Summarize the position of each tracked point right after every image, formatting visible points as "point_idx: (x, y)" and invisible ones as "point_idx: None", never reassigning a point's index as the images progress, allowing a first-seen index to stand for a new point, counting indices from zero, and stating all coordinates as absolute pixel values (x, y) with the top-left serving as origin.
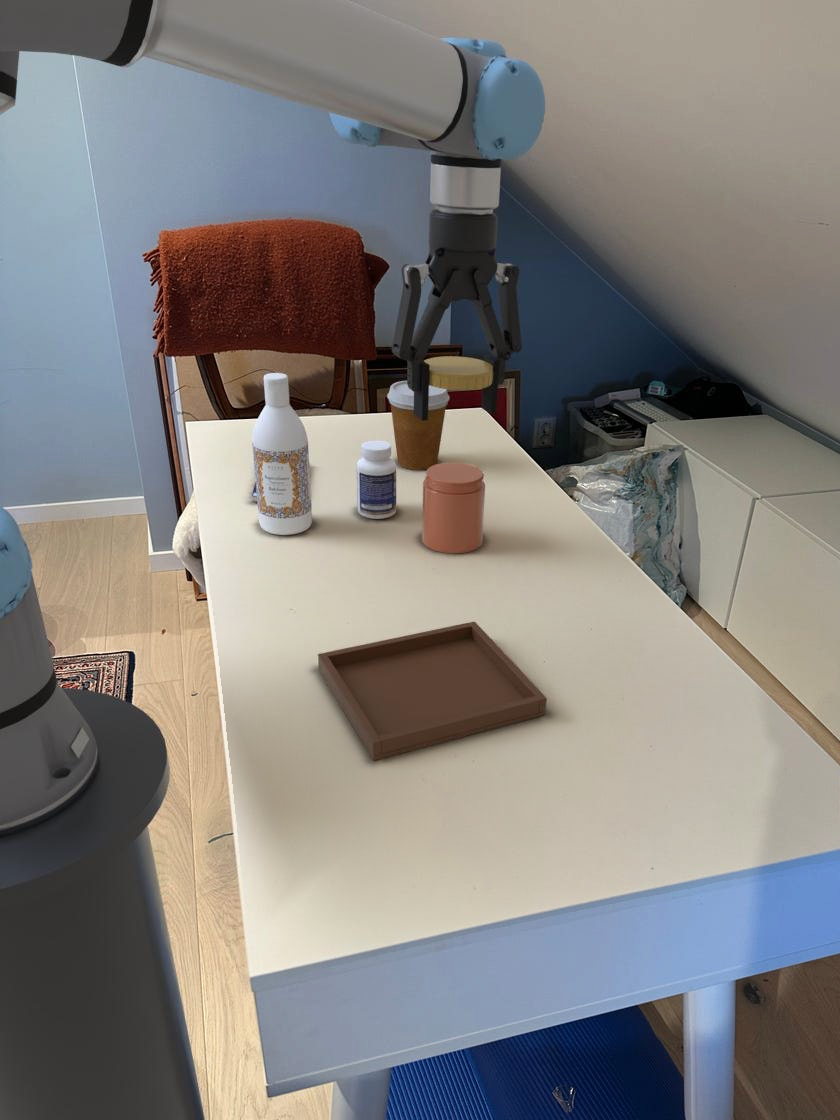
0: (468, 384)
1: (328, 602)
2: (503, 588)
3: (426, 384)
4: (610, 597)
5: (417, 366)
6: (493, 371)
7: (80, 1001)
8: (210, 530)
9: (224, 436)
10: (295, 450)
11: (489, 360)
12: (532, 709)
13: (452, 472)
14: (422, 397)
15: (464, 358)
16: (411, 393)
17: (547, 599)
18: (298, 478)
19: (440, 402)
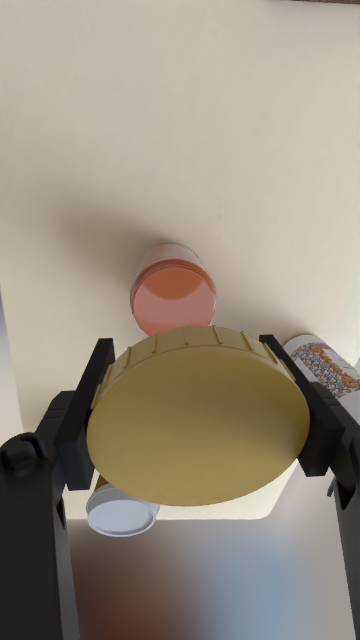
0: (216, 333)
1: (356, 183)
2: (166, 130)
3: (302, 384)
4: (28, 25)
5: (349, 433)
6: (87, 410)
7: None
8: (356, 361)
9: (259, 499)
10: (355, 390)
11: (85, 457)
12: None
13: (177, 308)
14: (294, 364)
15: (145, 490)
16: (135, 509)
17: (124, 67)
18: (330, 367)
19: (105, 491)
